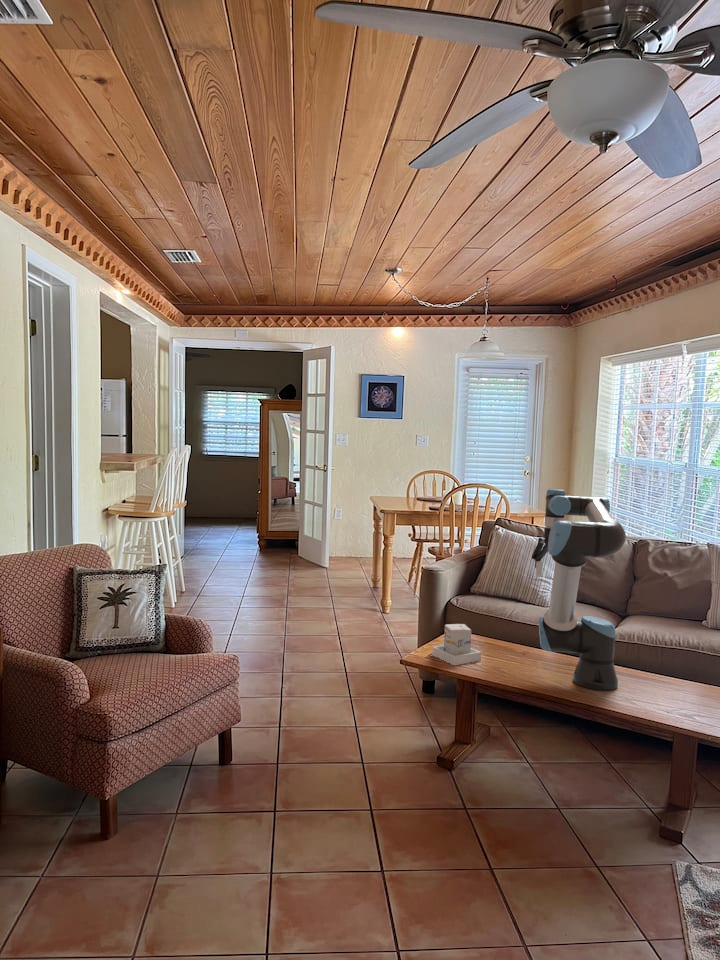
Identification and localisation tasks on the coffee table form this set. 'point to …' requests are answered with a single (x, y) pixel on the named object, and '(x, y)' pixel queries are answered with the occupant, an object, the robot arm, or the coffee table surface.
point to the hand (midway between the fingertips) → (551, 580)
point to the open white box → (456, 660)
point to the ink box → (457, 639)
